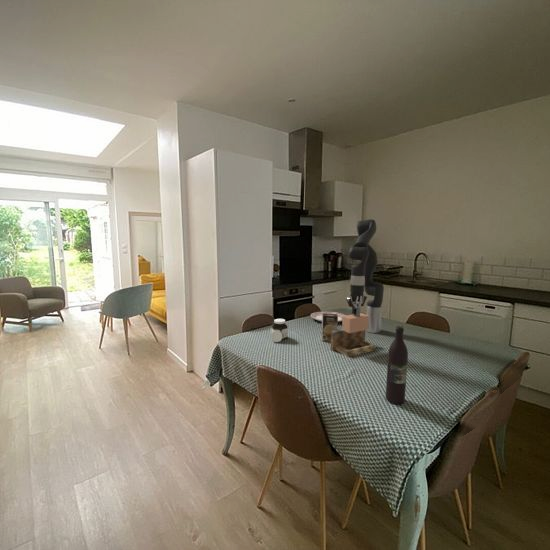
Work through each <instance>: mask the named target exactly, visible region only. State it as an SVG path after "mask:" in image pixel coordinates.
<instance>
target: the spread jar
mask: <svg viewBox="0 0 550 550" xmlns="http://www.w3.org/2000/svg"><path fill="white" fill-rule="evenodd" d="M270 333H271V335H270V338H271V340H272V341H273V342H275V343H279V342H281V341H282V340H283V339H284V340H286V339H287V338H288V335H289V327H288V325H287V323H286V319H284V318H276V319H273V323H272V325H271V332H270ZM284 340H283V341H284Z"/></svg>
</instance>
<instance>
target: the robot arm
mask: <svg viewBox="0 0 550 550" xmlns="http://www.w3.org/2000/svg"><path fill="white" fill-rule="evenodd" d="M356 230H357V231H356V232H357V235H358V237H357V239H356V241H355V243H354V244H353V245H352V246H351V247H350V248H349V250H348V257H349V259H350V260H352V261H353V260H354V261H360V262H359V263H356V264H352V265H351V268H350V269H351V270H350V271H351V273H350V274H351V275H350V281H349V283H350V286H349V291H350V295H349V297H346V298H345V299H346V302H347V305H348V306H349V308H352V309H351V312H352V313H353V314H354V315H356V307H359V308H360V309H361V307H364V306H365V303H366V313H365V314H366V315H369V329H368V330H365V332H367V333H372V334H378V333H380V332H381V331H382V320H383V319H382V304H383V299H384V292H385V291H384V290H385V289H384V284H383V283H381V282H376V281H373V274H374V272H375V270H376V268H377V266H378V256H377V255H378V254H377V253H376V251H375V249H374V248H373V247H372V246H371V245H370V241H371V240H372V238H373V237H374V235H375V234H376V231H377V223H376V220H375V219H363V220H359V221H357V224H356ZM365 293H366V295H368V296H371V297H373V299H371V300H368V301H366V300H367V299H368V296H366V295H365ZM352 313H351V314H352Z"/></svg>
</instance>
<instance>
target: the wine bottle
mask: <svg viewBox="0 0 550 550" xmlns="http://www.w3.org/2000/svg"><path fill="white" fill-rule="evenodd" d="M404 331H405V329H404V327H403V326H400V325H398V326H396V327H395V337H394V339H393V341H392V342H391V344H390V346H389V348H388V353H387V354H388V355H387V367H386V369H387V371H386V383H385V400H386V401H387V402H389V403H391V404H393V405H402V404H404V403H405V402H406V389H407V387H406V385H407V373H408V363H409V362H408V360H409V359H408V358H409V351H408V348H407V345H406V343H405V341H404Z"/></svg>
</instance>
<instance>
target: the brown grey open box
mask: <svg viewBox="0 0 550 550" xmlns="http://www.w3.org/2000/svg"><path fill="white" fill-rule="evenodd" d="M357 346H361V347H357ZM363 346H364V347H363ZM348 347H349V348H352V347H357V348H353V349H348ZM335 350H337V351H335ZM375 350H376V345H375V344H374V343H373V344H372V343H371V342H368V341H366V330H363V331H358V332H353V333H348V332H345V331H343V330H342V328H340V329H337V330H334V331H331V342H330V351H331V352H338V353H340V354H341V355H344V356H345V355H346V357H347V358H349V357H354V356H358V355H361V353H362V354H365V353H369V352H373V351H375ZM357 354H358V355H357ZM353 355H354V356H353Z"/></svg>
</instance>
